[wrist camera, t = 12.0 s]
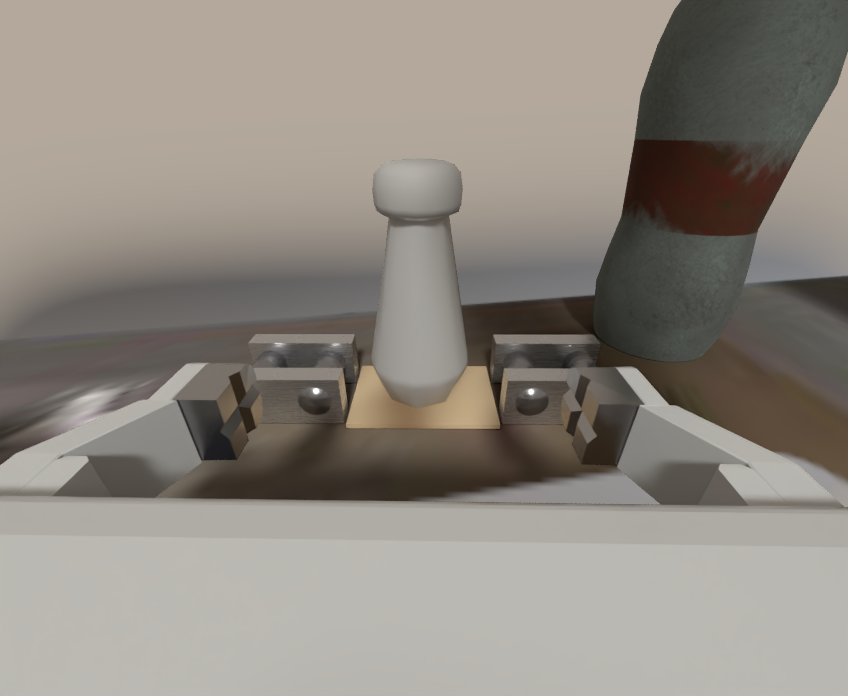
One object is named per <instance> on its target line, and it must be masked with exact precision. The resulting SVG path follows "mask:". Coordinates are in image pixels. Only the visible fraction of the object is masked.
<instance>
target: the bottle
mask: <svg viewBox="0 0 848 696" xmlns="http://www.w3.org/2000/svg"><path fill="white" fill-rule="evenodd" d="M847 52H848V0H681V2H680V3H679V4H678V6H677V7H676V8H675V10H674V12H673V14H672V16H671V18H670V20H669V22H668V24H667V26H666V28H665V31H664V33H663V35H662V37H661V39H660V41H659V43H658V45H657V48H656V51H655V54H654V57H653V60H652V63H651V66H650V69H649V72H648V75H647V78H646V81H645V83H644V87H643V89H642V92H641V96H640V104H639V111H638V119H637V126H636V134H635V141H634V147H633V153H632V158H631V164H630V170H629V176H628V181H627V187H626V193H625V199H624V204H623V210H622V216H621V219H620V221H619V224H618V226H617V228H616V231H615V233H614V236H613V238H612V240H611V243H610V245H609V248H608V250H607V253H606V256H605V258H604V261H603V264H602V267H601V269H600V272H599V275H598V277H597V281H596V290H595V299H594V309H593V322H594V331H595V333H596V334H597V336H598V337H599V338H600V339H601V340H602V341H604V342H605V343H606V344H608V345H609V346H611V347H613V348H615V349H617V350H620V351H622V352H624V353H627V354H630V355H634V356H637V357H640V358H645V359H650V360H656V361H664V362H684V361H691V360H695V359H697V358H699V357H701V356H703V355H704V354H705V352H706V351H707V350H708V349H709V348H710V347H711V346H712V345H713V344H714V343H715V342H716V340H717V339H718V337H719V336H720V334H721V332H722V331H723V329H724V328H725V326H726V324H727V323H728V321H729V320H730V318H731V316H732V315H733V313H734V312H735V310H736V308H737V305H738V303H739V300H740V296H741V293H742V289H743V286H744V282H745V279H746V275H747V272H748V268H749V265H750V260H751V256H752V252H753V248H754V244H755V240H756V236H757V232H758V228H759V227H760V225H761V223H762V221H763V219H764V217H765V215H766V213H767V211H768V210H769V207H770V206H771V204H772V202H773V200H774V198H775V196H776V194H777V192H778V190H779V188H780V187H781V185H782V183H783V181H784V179H785V177H786V175H787V173H788V171H789V169H790V168H791V166H792V164H793V162H794V160H795V158H796V156H797V154H798V152H799V150H800V149H801V147H802V145H803V143H804V141H805V139H806V137H807V135H808V134H809V132H810V130H811V129H812V127H813V125H814V123H815V122H816V120H817V118H818V116H819V115H820V113H821V111H822V110H823V108H824V106H825V104H826V102H827V101H828V99H829V97H830V96H831V94H832V92H833V90H834V89H835V87H836V85H837V83H838V80H839V77H840V74H841V71H842V68H843V65H844V61H845V58H846V55H847Z"/></svg>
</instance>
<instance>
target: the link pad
mask: <svg viewBox="0 0 848 696" xmlns="http://www.w3.org/2000/svg"><path fill="white" fill-rule="evenodd" d="M346 427H347V428H423V429H500V422H499V418H498V413H497V409H496V405H495V401H494V397H493V393H492V389H491V385H490V381H489V376H488V372H487V368H486V366H466V370H465V371H464V373H463V374H462V375H461V377H460V378H459V380H458V381H457V382H456V384H455V385H454V387H453V388H452V390H451V392H450V394H449V396H448V398H447V399H446V401H445V402H442V403H438V404H434V405H430V406H426V407H422V408H418V409H417V408H414V407H411V406H409V405H406V404H403V403H400V402H398V401H395V400H392V399H391V397H390V395H389V394H388V392H387V390H386V389H385V387H384V385H383V383H382V382H381V380H380V378H379V377H378V375H377V373H376V371H375V369H374V366H362V370H361V373H360V377H359V380H358V384H357V387H356V391H355V394H354V398H353V401H352V405H351V408H350V412H349V415H348V419H347V423H346Z"/></svg>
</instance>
